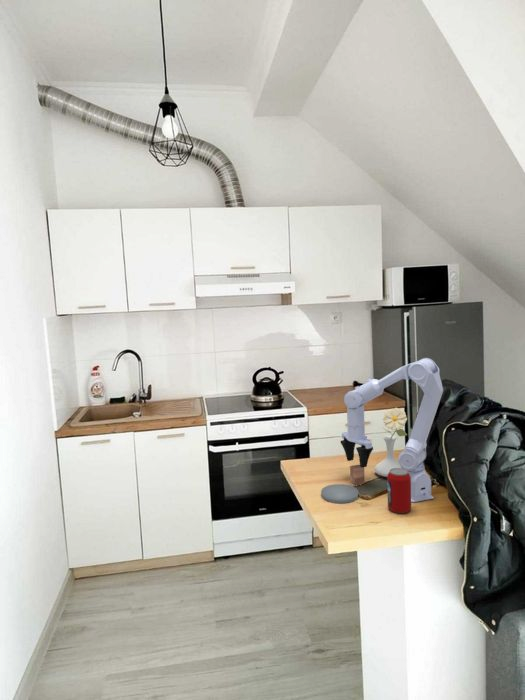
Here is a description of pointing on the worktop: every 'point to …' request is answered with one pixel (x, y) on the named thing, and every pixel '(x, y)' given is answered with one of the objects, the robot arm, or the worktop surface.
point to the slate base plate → (339, 493)
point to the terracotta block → (357, 475)
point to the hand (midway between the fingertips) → (356, 463)
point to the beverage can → (399, 490)
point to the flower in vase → (391, 440)
